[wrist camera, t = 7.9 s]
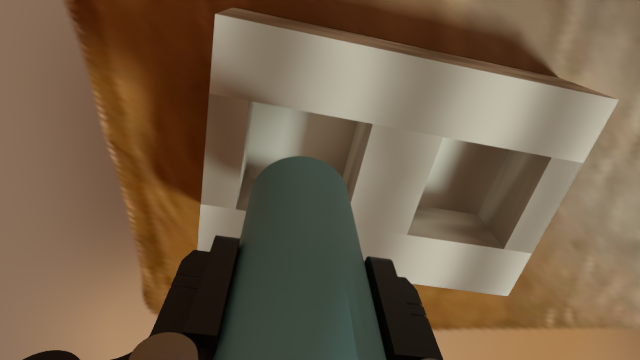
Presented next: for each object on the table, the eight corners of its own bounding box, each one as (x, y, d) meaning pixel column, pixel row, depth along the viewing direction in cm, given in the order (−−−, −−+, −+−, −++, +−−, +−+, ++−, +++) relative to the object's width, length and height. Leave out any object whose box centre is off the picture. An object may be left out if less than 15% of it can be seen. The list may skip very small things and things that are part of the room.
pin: (359, 165, 15) (504, 615, 4) (336, 246, 17) (400, 708, 6) (257, 147, 14) (136, 612, 4) (244, 234, 16) (139, 715, 6)
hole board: (559, 77, 21) (619, 99, 17) (476, 249, 27) (507, 296, 23) (233, 7, 19) (215, 13, 15) (214, 210, 24) (196, 255, 20)
